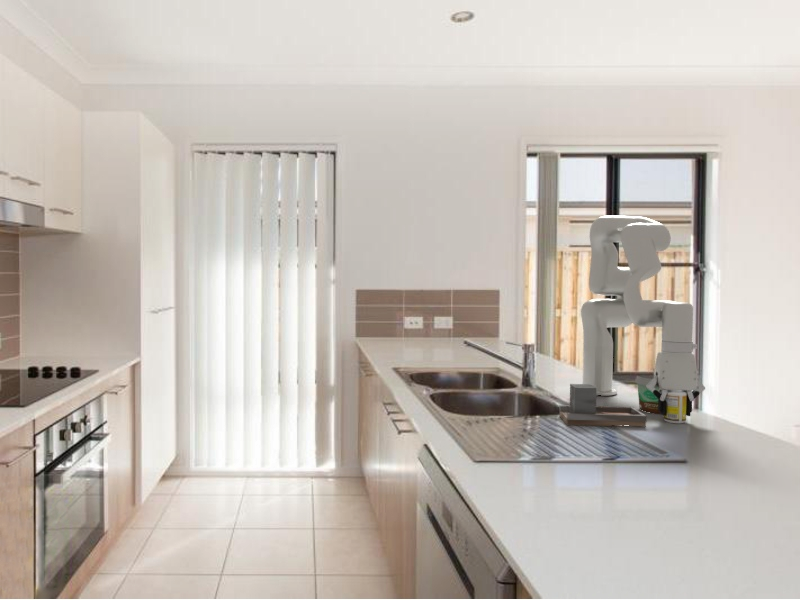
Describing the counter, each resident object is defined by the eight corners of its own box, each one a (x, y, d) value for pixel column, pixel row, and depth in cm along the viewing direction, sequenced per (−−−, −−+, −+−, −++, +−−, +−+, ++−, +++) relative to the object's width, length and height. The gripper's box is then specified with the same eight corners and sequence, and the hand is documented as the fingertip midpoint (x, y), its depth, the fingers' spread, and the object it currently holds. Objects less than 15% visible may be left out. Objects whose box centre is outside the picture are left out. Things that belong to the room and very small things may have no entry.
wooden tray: (559, 415, 167) (559, 382, 167) (632, 417, 166) (633, 383, 166) (567, 425, 156) (568, 389, 156) (646, 427, 155) (647, 390, 155)
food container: (631, 412, 173) (632, 377, 173) (634, 408, 179) (635, 374, 178) (678, 417, 167) (679, 381, 167) (679, 413, 173) (680, 378, 173)
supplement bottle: (680, 419, 165) (681, 382, 164) (689, 424, 159) (690, 385, 159) (659, 419, 165) (660, 382, 164) (668, 424, 159) (669, 385, 159)
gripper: (703, 347, 165) (701, 412, 165) (639, 345, 166) (637, 411, 166) (715, 350, 157) (713, 418, 158) (648, 349, 158) (647, 417, 159)
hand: (674, 414), depth 162 cm, fingers closed on supplement bottle, 5 cm apart
